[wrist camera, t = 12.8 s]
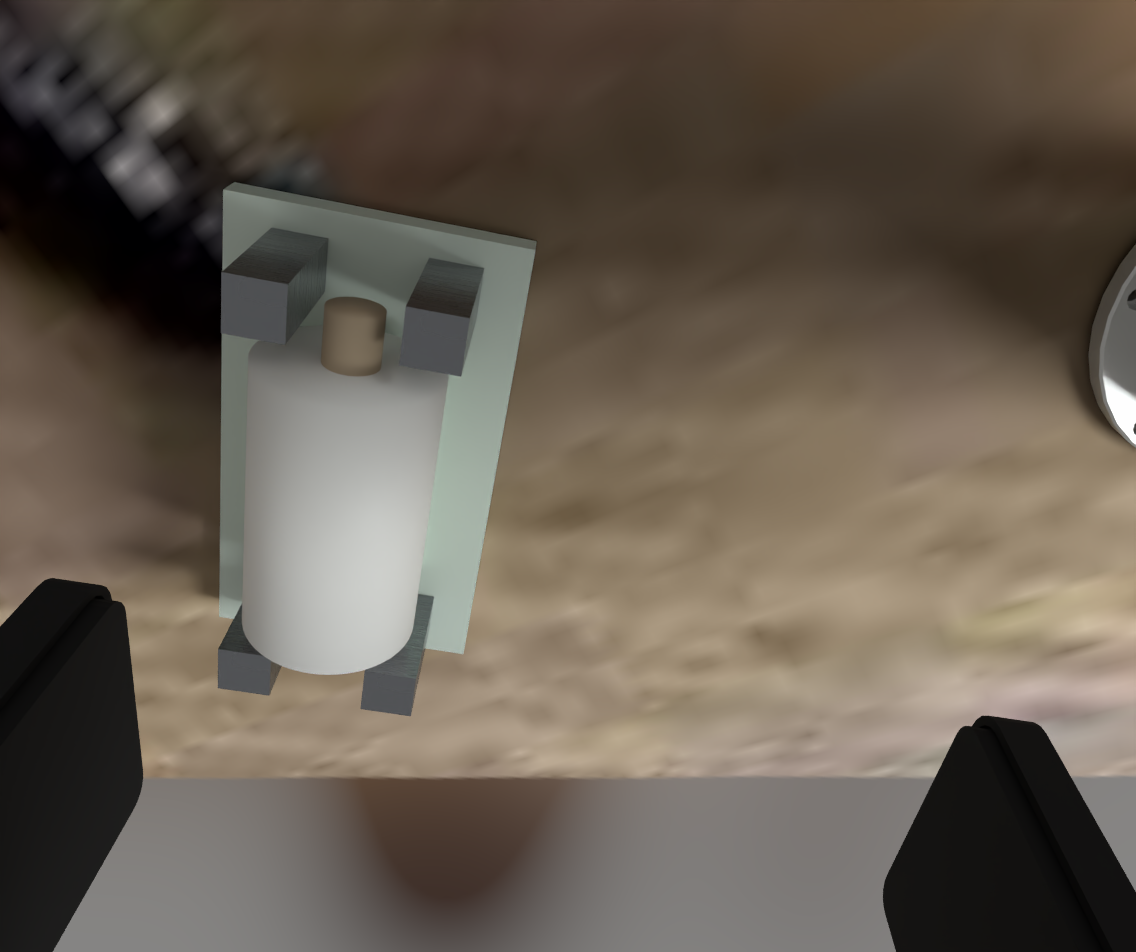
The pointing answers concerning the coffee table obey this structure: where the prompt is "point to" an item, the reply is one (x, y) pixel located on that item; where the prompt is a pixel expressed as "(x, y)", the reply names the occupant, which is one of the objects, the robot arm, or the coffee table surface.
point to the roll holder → (429, 342)
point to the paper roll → (337, 491)
